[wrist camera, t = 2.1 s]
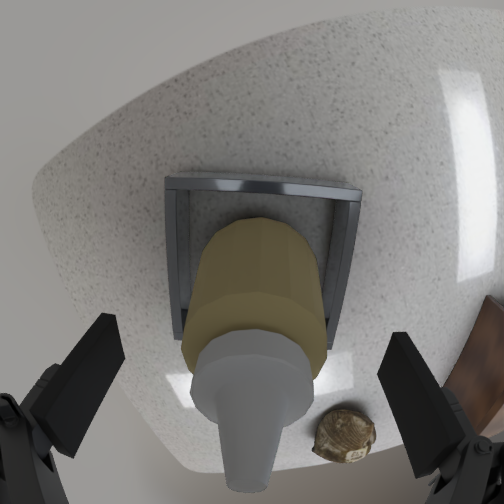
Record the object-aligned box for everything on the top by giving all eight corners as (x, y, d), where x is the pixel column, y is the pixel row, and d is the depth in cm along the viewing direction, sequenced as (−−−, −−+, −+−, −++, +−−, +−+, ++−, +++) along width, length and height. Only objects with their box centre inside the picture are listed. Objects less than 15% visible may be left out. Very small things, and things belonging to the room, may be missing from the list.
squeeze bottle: (208, 201, 22) (70, 378, 5) (316, 208, 22) (436, 400, 5) (207, 296, 25) (144, 502, 8) (303, 302, 25) (340, 514, 8)
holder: (179, 171, 21) (164, 177, 18) (348, 182, 21) (363, 190, 18) (183, 316, 26) (173, 339, 22) (324, 325, 25) (331, 349, 22)
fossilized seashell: (358, 458, 31) (393, 407, 29) (345, 489, 25) (386, 438, 23) (312, 438, 34) (340, 385, 32) (293, 466, 29) (324, 413, 27)
